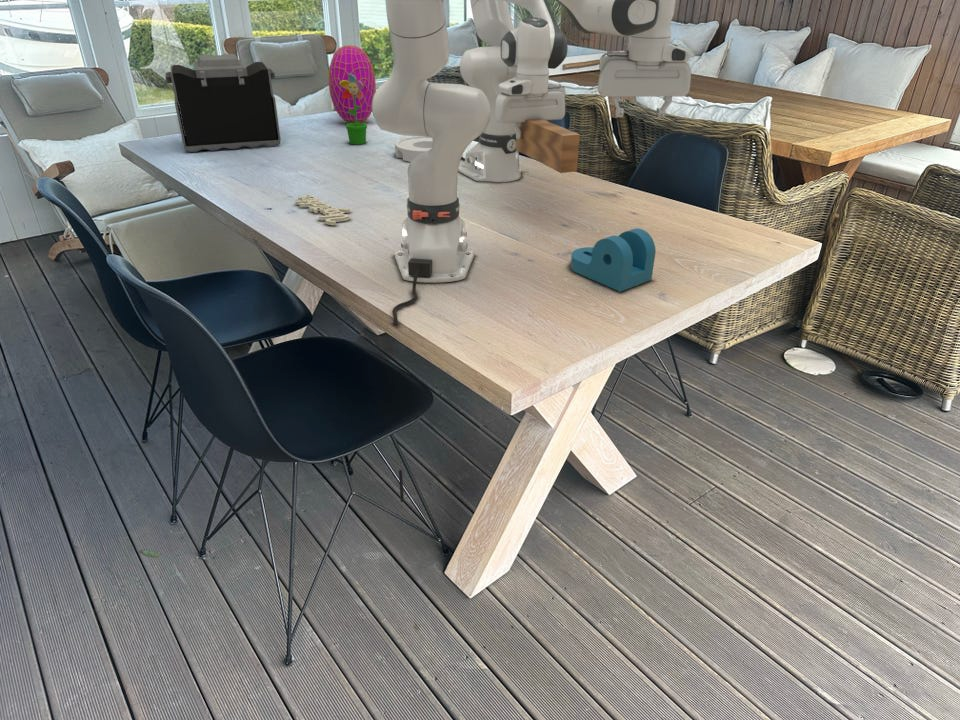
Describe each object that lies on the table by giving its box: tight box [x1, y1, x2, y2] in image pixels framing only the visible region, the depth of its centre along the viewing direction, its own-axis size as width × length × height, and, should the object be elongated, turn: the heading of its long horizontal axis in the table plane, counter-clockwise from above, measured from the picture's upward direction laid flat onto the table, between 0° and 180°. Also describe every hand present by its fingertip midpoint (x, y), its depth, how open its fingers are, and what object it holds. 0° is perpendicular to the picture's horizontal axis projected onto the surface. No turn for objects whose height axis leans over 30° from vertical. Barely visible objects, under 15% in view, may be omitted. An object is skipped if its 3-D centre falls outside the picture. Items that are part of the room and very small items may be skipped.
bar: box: [516, 119, 581, 174], centre depth 184 cm, size 27×5×9 cm, turn 22°
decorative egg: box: [328, 44, 377, 124], centre depth 286 cm, size 19×19×30 cm
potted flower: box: [339, 73, 368, 145], centre depth 255 cm, size 9×8×25 cm
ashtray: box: [394, 136, 433, 163], centre depth 246 cm, size 23×23×4 cm
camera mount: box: [570, 227, 656, 293], centre depth 154 cm, size 18×10×10 cm, turn 39°
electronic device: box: [164, 53, 282, 153], centre depth 252 cm, size 37×22×30 cm, turn 111°
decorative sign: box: [295, 194, 351, 226], centre depth 192 cm, size 26×1×10 cm
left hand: (639, 117), depth 156 cm, fingers open, 8 cm apart
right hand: (529, 137), depth 192 cm, fingers closed on bar, 5 cm apart
